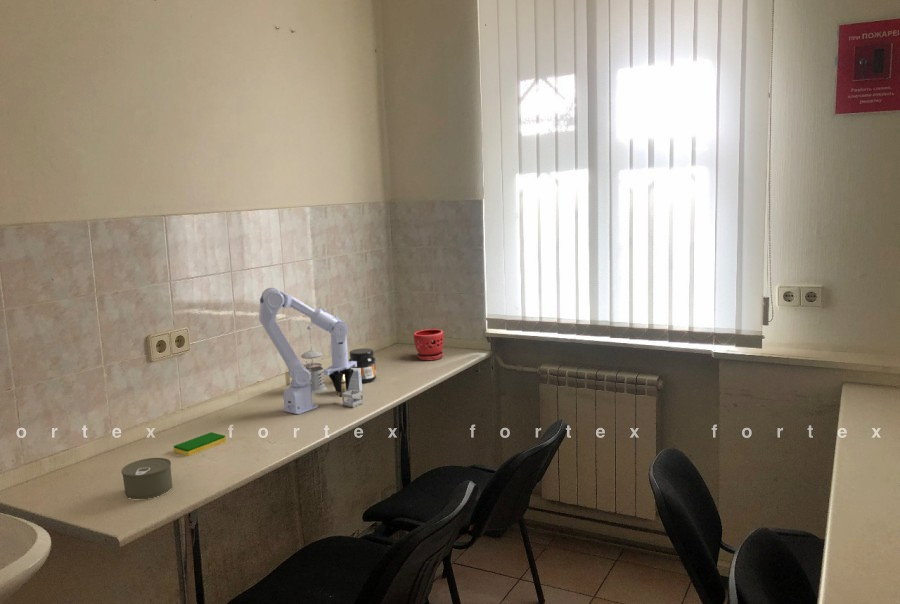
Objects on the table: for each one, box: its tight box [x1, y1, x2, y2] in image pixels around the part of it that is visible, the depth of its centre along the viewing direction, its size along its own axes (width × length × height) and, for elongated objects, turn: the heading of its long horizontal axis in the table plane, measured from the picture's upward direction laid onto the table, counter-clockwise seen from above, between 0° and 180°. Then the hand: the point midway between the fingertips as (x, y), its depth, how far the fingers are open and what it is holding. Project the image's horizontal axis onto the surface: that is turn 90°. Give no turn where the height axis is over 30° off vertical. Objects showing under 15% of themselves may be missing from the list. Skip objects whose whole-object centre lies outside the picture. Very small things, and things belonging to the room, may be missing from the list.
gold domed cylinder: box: [337, 373, 346, 398], centre depth 262 cm, size 3×3×8 cm
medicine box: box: [339, 368, 363, 392], centre depth 276 cm, size 8×4×9 cm, turn 84°
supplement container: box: [348, 347, 377, 384], centre depth 291 cm, size 10×10×12 cm
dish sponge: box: [173, 432, 227, 457], centre depth 225 cm, size 7×14×2 cm, turn 145°
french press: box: [300, 325, 328, 394], centre depth 278 cm, size 10×12×25 cm
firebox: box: [341, 390, 364, 408], centre depth 260 cm, size 5×5×4 cm
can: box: [121, 457, 174, 500], centre depth 193 cm, size 12×12×7 cm
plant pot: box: [413, 328, 445, 361], centre depth 322 cm, size 13×13×12 cm
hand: (342, 390), depth 262 cm, fingers closed on gold domed cylinder, 3 cm apart
